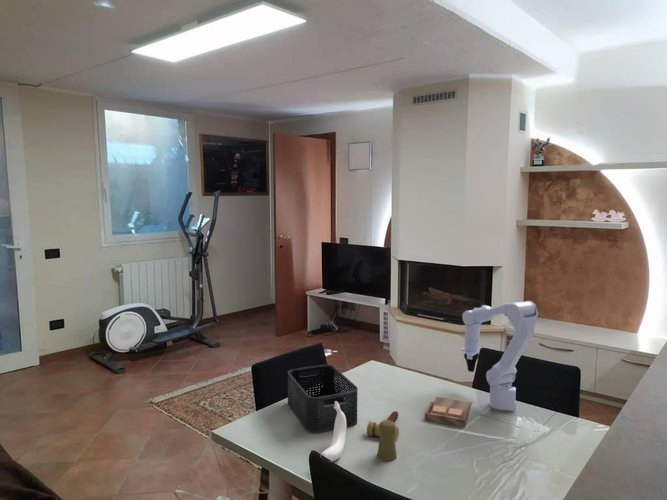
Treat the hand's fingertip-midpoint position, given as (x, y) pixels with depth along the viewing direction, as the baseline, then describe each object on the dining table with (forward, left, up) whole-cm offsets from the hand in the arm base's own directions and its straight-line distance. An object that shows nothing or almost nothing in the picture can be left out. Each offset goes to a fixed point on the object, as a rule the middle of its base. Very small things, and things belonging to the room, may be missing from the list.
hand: (471, 371), depth 192 cm
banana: (+33, +66, -10) cm, 74 cm away
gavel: (+23, +41, -10) cm, 48 cm away
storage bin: (+49, +41, -10) cm, 65 cm away
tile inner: (+2, +27, -9) cm, 29 cm away
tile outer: (+8, +27, -9) cm, 30 cm away
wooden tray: (+5, +22, -9) cm, 24 cm away
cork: (+18, +60, -10) cm, 63 cm away
